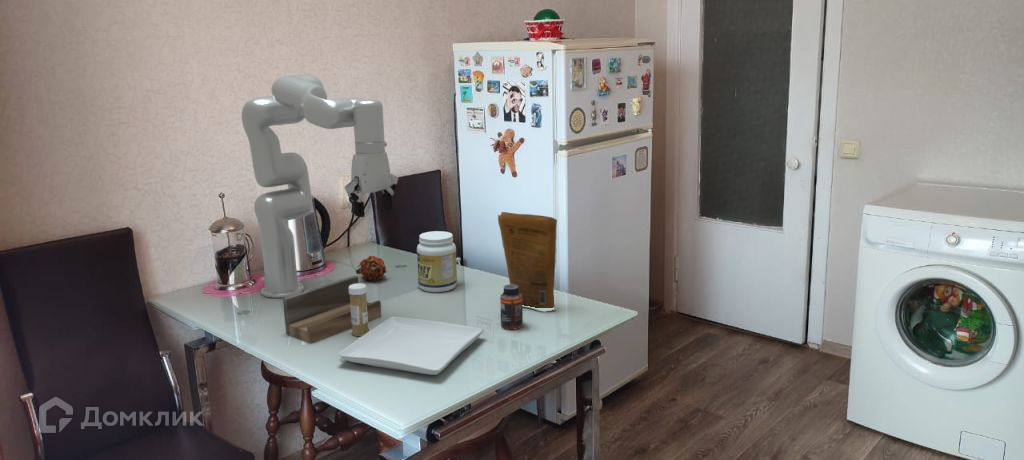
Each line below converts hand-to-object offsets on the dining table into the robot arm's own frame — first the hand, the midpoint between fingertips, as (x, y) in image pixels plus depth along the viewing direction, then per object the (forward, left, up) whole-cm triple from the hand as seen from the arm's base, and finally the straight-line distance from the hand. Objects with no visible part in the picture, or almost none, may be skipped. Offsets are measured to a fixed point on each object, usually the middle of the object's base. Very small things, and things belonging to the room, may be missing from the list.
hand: (374, 212), depth 193 cm
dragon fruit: (-32, +25, -32) cm, 51 cm away
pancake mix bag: (+25, +35, -31) cm, 53 cm away
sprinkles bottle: (+1, -8, -31) cm, 32 cm away
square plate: (+21, -8, -32) cm, 39 cm away
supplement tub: (-9, +32, -31) cm, 46 cm away
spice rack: (-9, -8, -31) cm, 33 cm away
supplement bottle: (+30, +20, -31) cm, 48 cm away
